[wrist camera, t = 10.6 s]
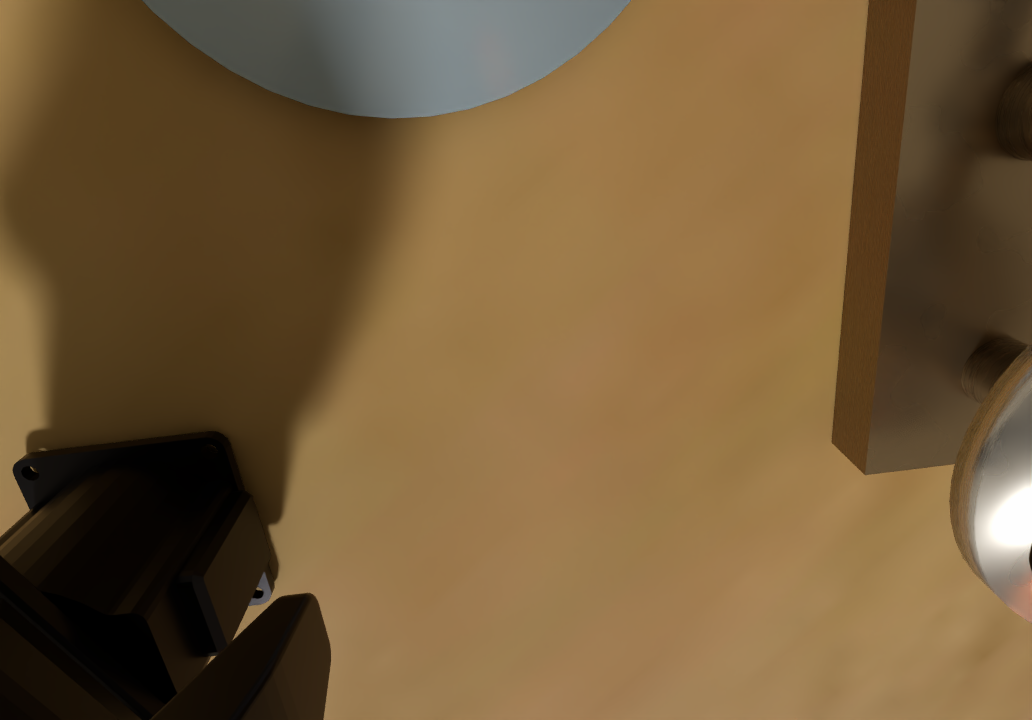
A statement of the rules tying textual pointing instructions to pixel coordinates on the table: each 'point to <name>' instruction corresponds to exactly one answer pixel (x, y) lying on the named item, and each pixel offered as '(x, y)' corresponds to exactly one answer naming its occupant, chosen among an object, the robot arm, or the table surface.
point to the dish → (390, 47)
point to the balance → (946, 271)
